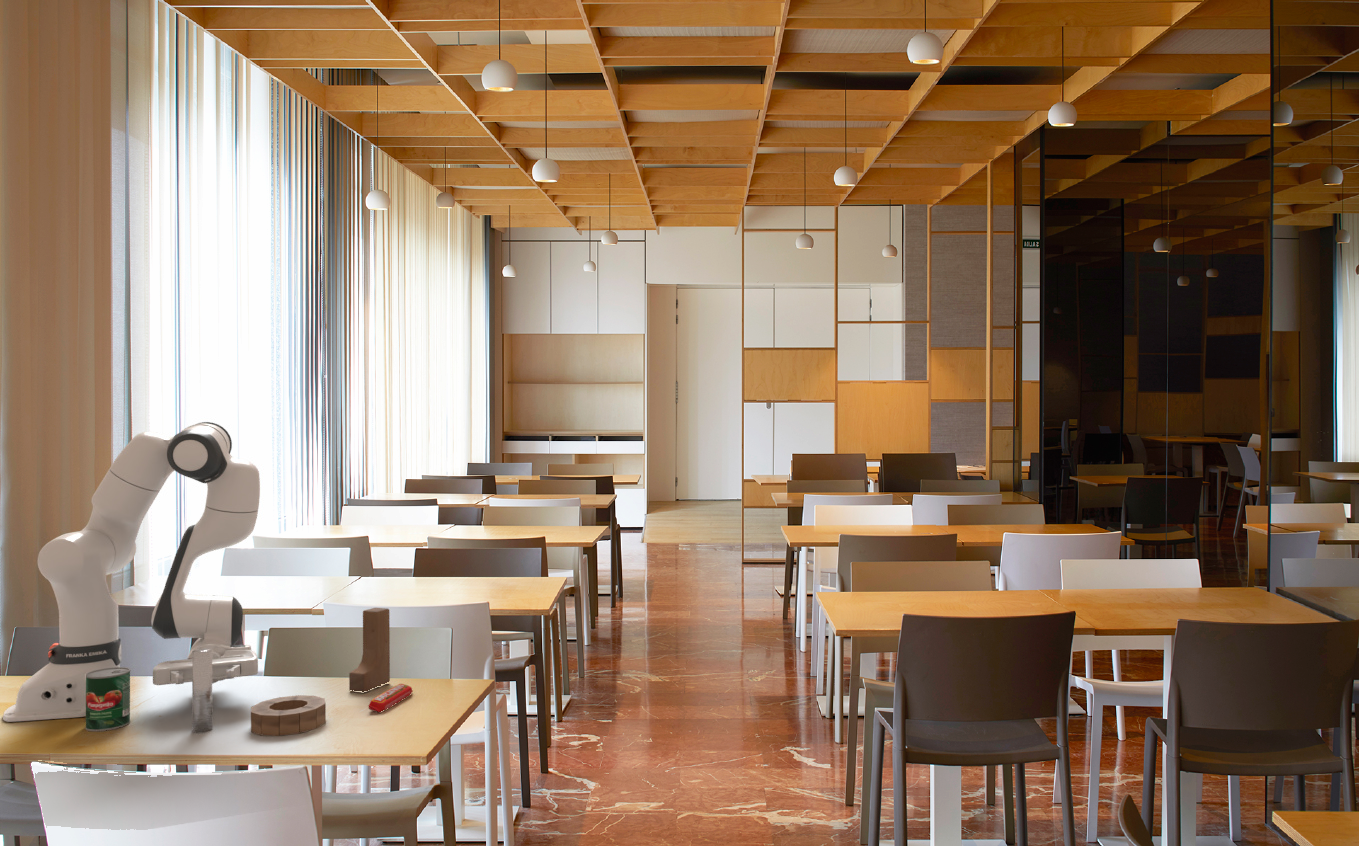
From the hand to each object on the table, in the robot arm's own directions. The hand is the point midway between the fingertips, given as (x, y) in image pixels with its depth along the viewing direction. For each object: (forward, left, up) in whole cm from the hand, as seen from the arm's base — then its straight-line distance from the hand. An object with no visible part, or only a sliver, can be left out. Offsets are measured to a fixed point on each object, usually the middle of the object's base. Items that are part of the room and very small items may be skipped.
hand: (204, 677), depth 193 cm
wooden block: (+34, +11, -9) cm, 37 cm away
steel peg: (0, -7, -9) cm, 11 cm away
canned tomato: (-18, +5, -9) cm, 21 cm away
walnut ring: (+16, -11, -9) cm, 21 cm away
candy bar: (+37, -4, -9) cm, 38 cm away
